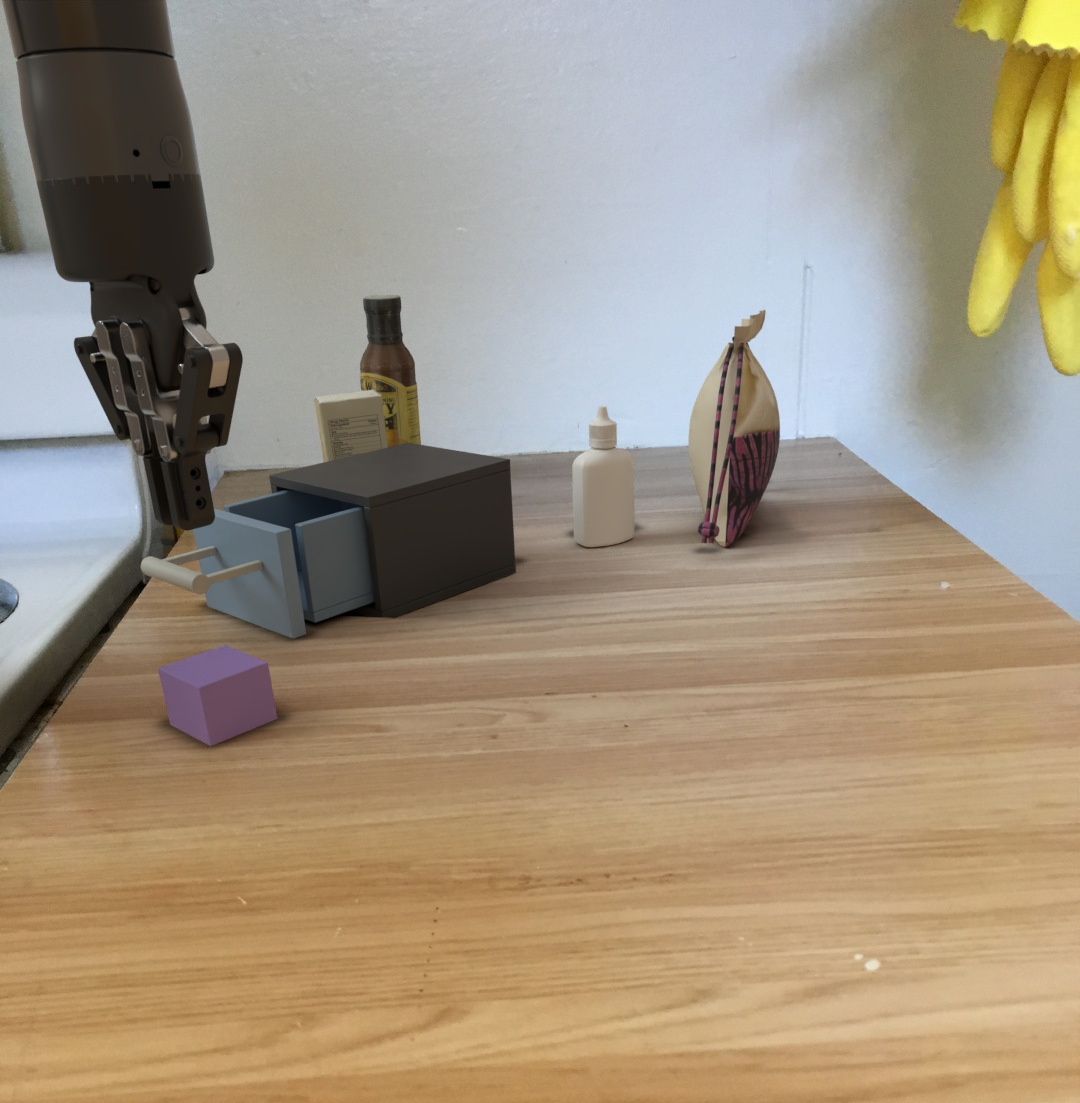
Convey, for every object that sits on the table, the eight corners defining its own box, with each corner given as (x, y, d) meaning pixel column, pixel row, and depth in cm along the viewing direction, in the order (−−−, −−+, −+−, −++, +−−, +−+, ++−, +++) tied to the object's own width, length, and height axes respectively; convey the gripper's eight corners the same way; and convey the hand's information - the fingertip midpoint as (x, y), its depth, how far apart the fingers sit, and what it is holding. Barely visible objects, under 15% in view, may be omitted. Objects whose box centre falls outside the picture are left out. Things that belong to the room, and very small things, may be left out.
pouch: (772, 563, 89) (785, 323, 81) (673, 561, 91) (677, 325, 83) (777, 490, 111) (788, 295, 103) (698, 489, 113) (702, 297, 105)
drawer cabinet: (383, 622, 81) (368, 497, 76) (286, 590, 88) (268, 475, 84) (516, 572, 90) (510, 459, 86) (418, 547, 98) (408, 442, 94)
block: (213, 759, 61) (198, 687, 59) (172, 737, 64) (157, 667, 62) (280, 731, 64) (268, 661, 62) (238, 711, 67) (225, 644, 65)
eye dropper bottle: (573, 535, 99) (569, 403, 94) (633, 532, 99) (632, 400, 94) (574, 549, 95) (570, 412, 90) (636, 546, 95) (636, 409, 90)
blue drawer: (223, 664, 72) (202, 553, 69) (139, 628, 79) (117, 525, 76) (433, 588, 84) (425, 491, 81) (345, 563, 91) (333, 472, 88)
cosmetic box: (389, 509, 111) (377, 388, 106) (398, 519, 107) (385, 394, 102) (328, 516, 109) (312, 394, 104) (334, 527, 105) (318, 400, 100)
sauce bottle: (358, 482, 122) (337, 297, 114) (397, 471, 127) (379, 292, 118) (397, 489, 119) (378, 298, 110) (436, 477, 123) (421, 293, 114)
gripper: (-19, 179, 53) (65, 521, 60) (113, 163, 44) (191, 563, 52) (122, 177, 58) (183, 493, 65) (265, 161, 49) (316, 527, 57)
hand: (186, 523), depth 59 cm, fingers closed
